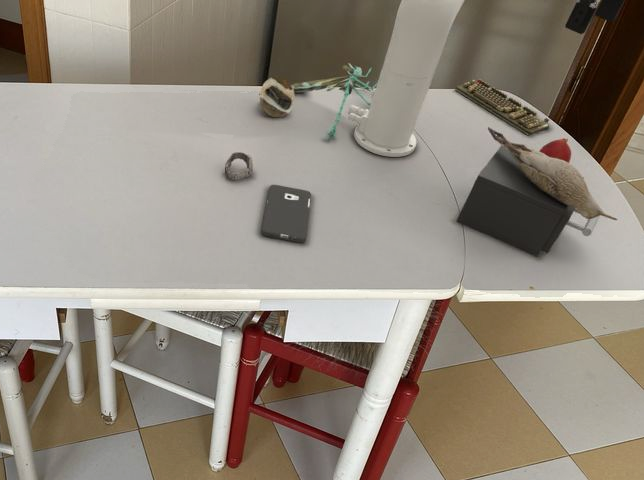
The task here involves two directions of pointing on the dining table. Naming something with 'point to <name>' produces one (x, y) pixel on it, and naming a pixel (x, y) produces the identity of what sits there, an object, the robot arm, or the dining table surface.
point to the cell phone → (286, 213)
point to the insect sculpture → (331, 82)
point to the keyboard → (503, 106)
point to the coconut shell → (277, 97)
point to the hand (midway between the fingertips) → (589, 24)
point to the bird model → (553, 177)
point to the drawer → (565, 221)
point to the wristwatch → (243, 173)
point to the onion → (557, 150)
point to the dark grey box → (511, 206)
